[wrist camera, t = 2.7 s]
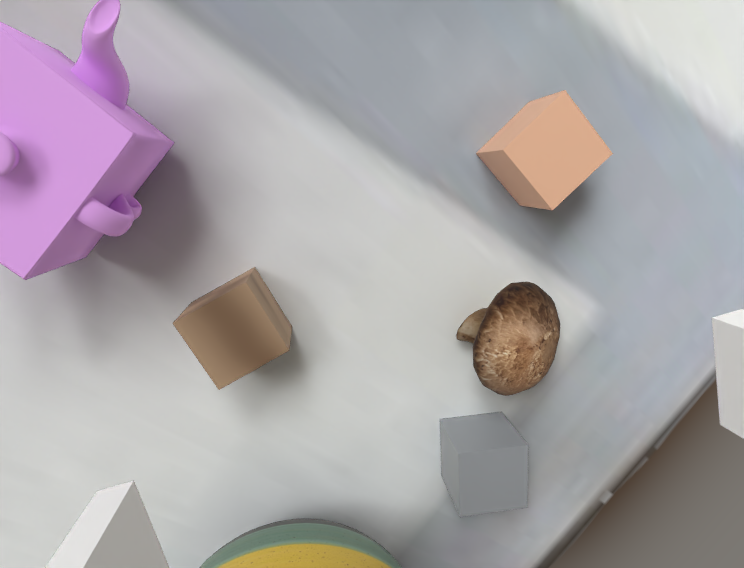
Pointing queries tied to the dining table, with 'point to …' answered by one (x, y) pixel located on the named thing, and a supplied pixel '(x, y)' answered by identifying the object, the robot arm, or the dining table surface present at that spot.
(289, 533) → the planter
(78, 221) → the teapot
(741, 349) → the robot arm
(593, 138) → the terracotta cube
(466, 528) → the dining table surface
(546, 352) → the mushroom
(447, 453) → the slate cube
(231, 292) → the walnut cube
